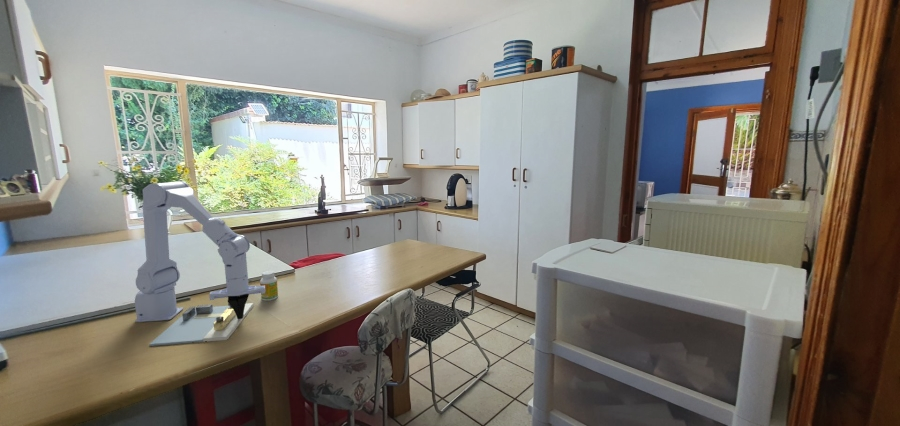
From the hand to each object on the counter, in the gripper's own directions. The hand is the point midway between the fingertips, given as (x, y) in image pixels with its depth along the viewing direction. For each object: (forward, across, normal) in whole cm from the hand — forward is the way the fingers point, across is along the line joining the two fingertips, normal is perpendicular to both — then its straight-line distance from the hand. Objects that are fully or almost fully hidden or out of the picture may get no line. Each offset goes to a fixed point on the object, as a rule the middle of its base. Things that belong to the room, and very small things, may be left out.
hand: (240, 317), depth 107 cm
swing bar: (0, +4, +1) cm, 4 cm away
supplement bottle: (+2, -7, -17) cm, 18 cm away
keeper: (+2, +12, -8) cm, 15 cm away
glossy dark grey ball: (+2, +2, -5) cm, 6 cm away
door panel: (+2, +9, -2) cm, 10 cm away
